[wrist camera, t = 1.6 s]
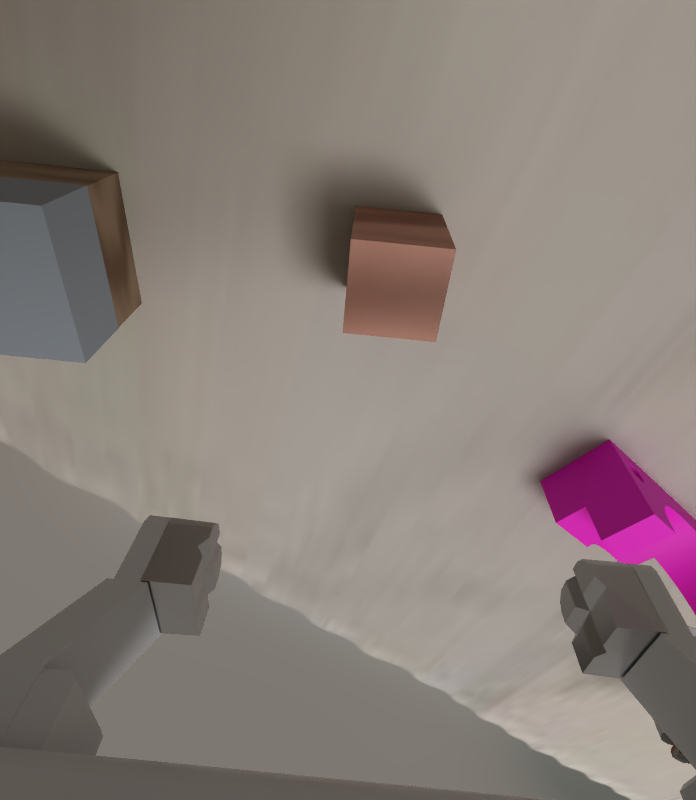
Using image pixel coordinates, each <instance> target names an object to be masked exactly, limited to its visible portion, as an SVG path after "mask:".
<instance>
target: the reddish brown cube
mask: <svg viewBox="0 0 696 800" xmlns="http://www.w3.org/2000/svg"><path fill="white" fill-rule="evenodd" d="M455 252H456V248H455V246H454V243H453V241H452V238H451V236H450V233H449V231H448V228H447V226H446V223H445V221H444V218H443V216H442V215H438V214H428V213H418V212H408V211H398V210H388V209H379V208H369V207H359V206H356V207H355V214H354V221H353V228H352V235H351V243H350V255H349V266H348V278H347V289H346V301H345V312H344V324H343V333H350V334H360V335H371V336H381V337H391V338H401V339H411V340H421V341H431V342H436V338H437V334H438V329H439V325H440V320H441V316H442V311H443V307H444V302H445V297H446V293H447V288H448V284H449V279H450V275H451V270H452V266H453V261H454V257H455Z"/></svg>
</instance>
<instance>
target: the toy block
mask: <svg viewBox="0 0 696 800" xmlns="http://www.w3.org/2000/svg"><path fill="white" fill-rule="evenodd" d="M540 482H541V484H542V487H543V490H544V492H545V495H546V498H547V500H548V503H549V505H550V508H551V511H552V513H553V516H554V519H555V521H556V523H557V524H558V525H560V526H561V527H562V528H564V529H565V530H566V531H567V532H569V533H570V534H571V535H573V536H574V537H575V538H577V539H578V540H579V541H580V542H582V543H583V544H584V545H586V546H587V547H588V546H590V545H592V544H596V545H598V546H600V547H602V548H603V549H605V550H606V551H607V552H609V553H610V554H611V555H612V556H613V557H614V558H615V559H616V560H617V561H618V562H622V563H625V564H637V565H638V564H640V563H642V562H645V561H647V560H649V559H651V558H653V557H654V558H655V559H656V560H657V561H658V562H659V564H660V565H661V566H662V567H663V568H664V570H665V571H666V572H667V574H668V575H669V576H670V578H671V579H672V580H673V582H674V583H675V584H676V586H677V587H678V589H679V590H680V592H681V593H682V594H683V596H684V597H685V599H686V600H687V602H688V604H689V605H690V607H691V608H692V610H693V611H694V613H695V615H696V520H695V519H694V518H693V517H692V516H691V515H690V514H689V513H687V512H686V511H685V510H684V509H683V508H682V507H681V506H680V505H679V504H678V503H677V502H676V501H675V500H674V499H673V498H671V497H670V496H669V495H668V494H667V493H666V492H665V491H664V490H663V489H662V488H661V487H660V486H659V485H658V484H657V483H655V482H654V481H653V480H652V479H651V478H650V477H649V476H648V475H647V474H646V473H645V472H644V471H643V470H642V469H641V468H639V467H638V466H637V465H636V464H635V463H634V462H633V461H632V460H631V459H630V458H629V457H628V456H627V455H626V454H624V453H623V452H622V451H621V450H620V449H619V448H618V447H617V446H616V445H615V444H614V443H613V442H612V441H611V440H608V441H606V442H605V443H603V444H601V445H600V446H598V447H596V448H595V449H593V450H591V451H590V452H588V453H587V454H585V455H583V456H582V457H580V458H578V459H577V460H575V461H573V462H572V463H570V464H568V465H567V466H565V467H563V468H562V469H560V470H558V471H557V472H555V473H553V474H552V475H550V476H548V477H547V478H545V479H543V480H542V481H540Z"/></svg>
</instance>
